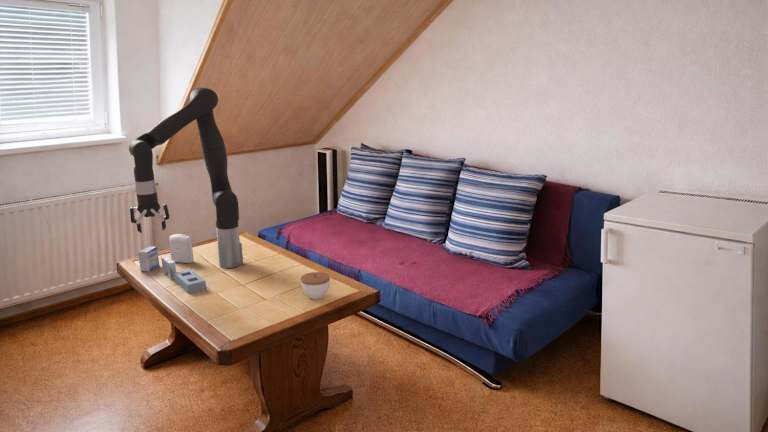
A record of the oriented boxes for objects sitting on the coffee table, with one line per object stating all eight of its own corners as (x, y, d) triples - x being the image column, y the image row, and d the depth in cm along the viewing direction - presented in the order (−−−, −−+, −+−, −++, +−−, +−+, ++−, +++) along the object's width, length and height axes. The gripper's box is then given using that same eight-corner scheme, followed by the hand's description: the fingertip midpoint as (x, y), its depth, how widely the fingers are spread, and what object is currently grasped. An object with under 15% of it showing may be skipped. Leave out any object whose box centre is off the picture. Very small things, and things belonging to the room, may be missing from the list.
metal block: (168, 271, 264) (167, 255, 262) (176, 278, 256) (175, 262, 254) (162, 272, 262) (161, 256, 260) (170, 279, 255) (169, 263, 253)
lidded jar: (306, 303, 230) (305, 280, 228) (298, 293, 240) (297, 270, 237) (334, 298, 234) (333, 275, 232) (325, 288, 244) (324, 266, 241)
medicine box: (149, 272, 263) (147, 252, 261) (140, 271, 264) (137, 251, 262) (159, 265, 271) (157, 246, 268) (150, 264, 272) (148, 245, 269)
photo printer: (169, 261, 275) (166, 234, 272) (176, 258, 279) (173, 232, 276) (189, 264, 272) (186, 237, 268) (195, 261, 276) (192, 234, 272)
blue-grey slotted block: (191, 277, 257) (190, 269, 256) (206, 289, 245) (205, 280, 244) (174, 281, 253) (173, 272, 252) (188, 293, 241) (187, 284, 240)
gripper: (166, 187, 250) (171, 226, 254) (127, 191, 246) (134, 230, 251) (165, 191, 243) (170, 231, 247) (125, 195, 239) (132, 236, 244)
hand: (152, 231), depth 249 cm, fingers open, 8 cm apart
